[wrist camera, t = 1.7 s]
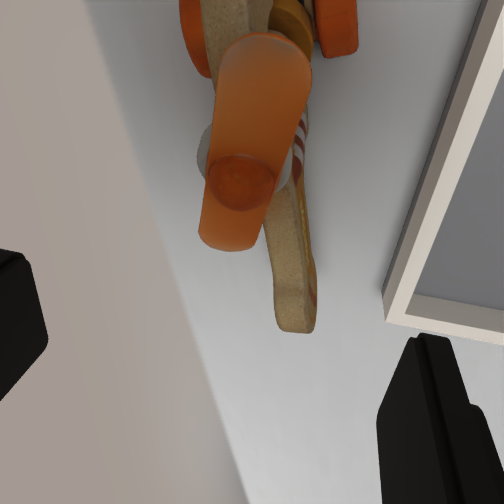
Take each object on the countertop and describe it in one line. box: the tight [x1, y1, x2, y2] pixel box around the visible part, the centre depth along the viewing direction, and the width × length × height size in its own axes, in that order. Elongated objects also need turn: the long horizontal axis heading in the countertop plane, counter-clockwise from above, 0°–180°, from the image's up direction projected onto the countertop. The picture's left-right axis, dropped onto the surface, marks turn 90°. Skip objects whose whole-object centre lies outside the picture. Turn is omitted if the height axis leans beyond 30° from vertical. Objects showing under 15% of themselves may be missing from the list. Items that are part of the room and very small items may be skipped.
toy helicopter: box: [179, 0, 359, 334], centre depth 20 cm, size 8×21×14 cm, turn 10°
